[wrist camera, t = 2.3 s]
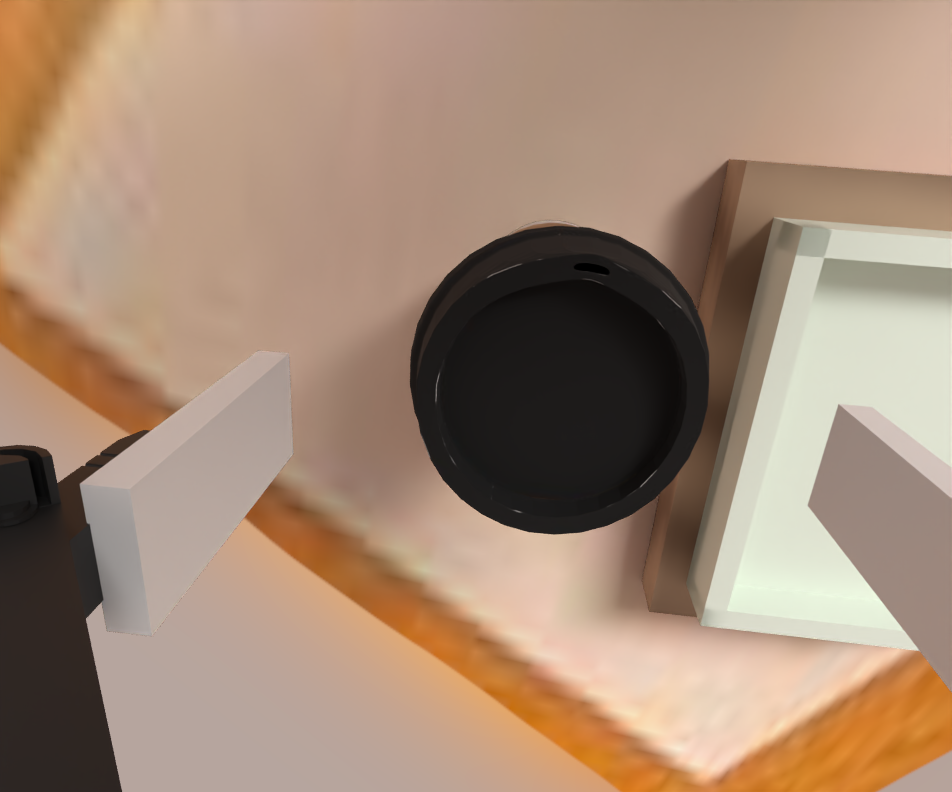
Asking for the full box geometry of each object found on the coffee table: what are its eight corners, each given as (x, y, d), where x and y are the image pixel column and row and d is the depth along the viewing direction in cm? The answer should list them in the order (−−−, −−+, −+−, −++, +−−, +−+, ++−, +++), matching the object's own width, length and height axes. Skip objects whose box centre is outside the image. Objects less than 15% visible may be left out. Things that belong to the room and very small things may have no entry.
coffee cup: (661, 207, 28) (786, 275, 14) (615, 384, 31) (678, 581, 17) (473, 174, 28) (412, 208, 14) (446, 353, 31) (375, 523, 17)
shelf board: (728, 159, 27) (747, 161, 25) (1125, 188, 26) (1183, 193, 24) (642, 580, 35) (649, 611, 33) (939, 613, 34) (968, 648, 32)
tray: (773, 217, 25) (803, 227, 22) (1116, 244, 25) (1190, 258, 22) (686, 583, 32) (700, 625, 29) (952, 613, 31) (992, 659, 29)
